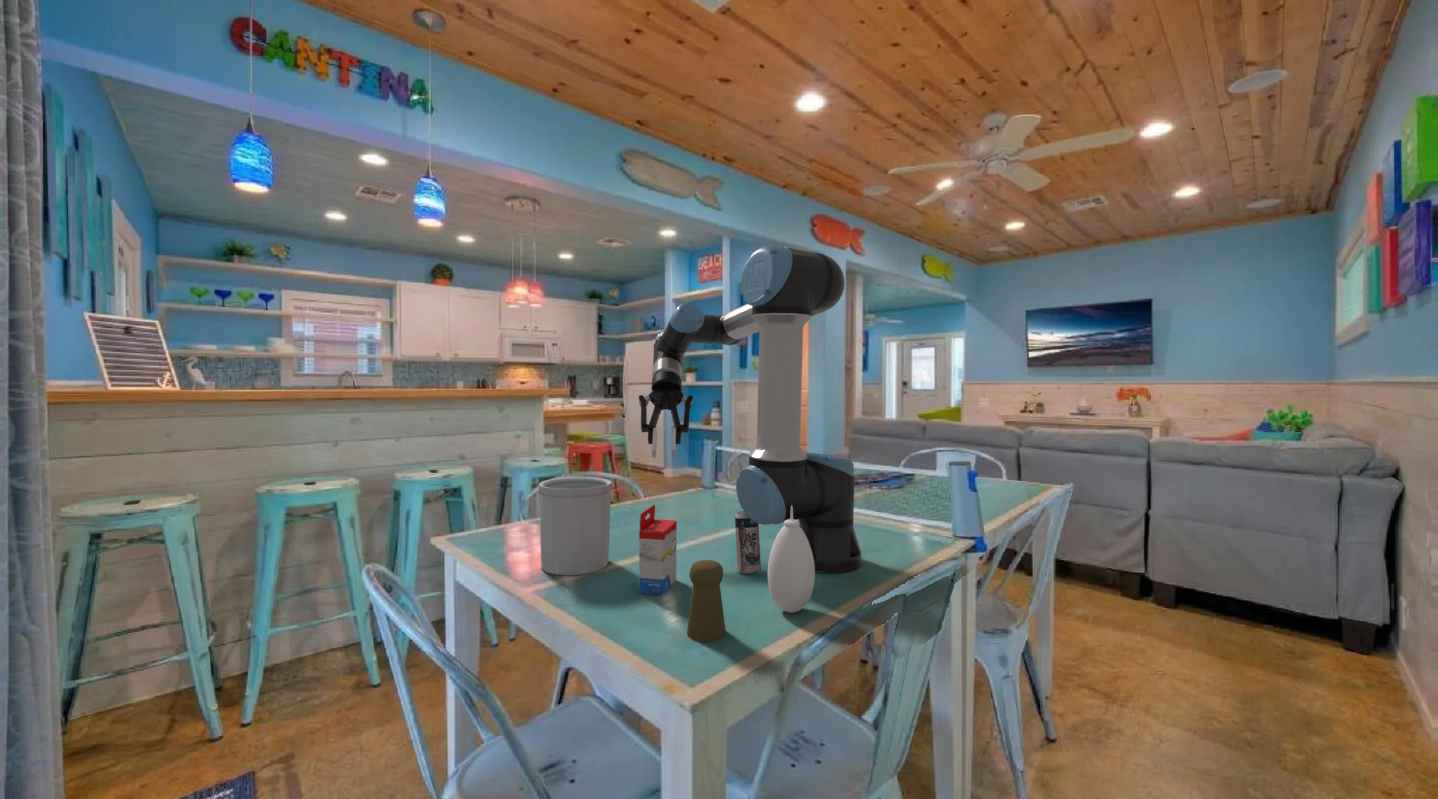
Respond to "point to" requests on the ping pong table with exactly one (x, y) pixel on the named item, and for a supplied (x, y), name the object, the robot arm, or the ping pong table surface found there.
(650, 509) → the ink box
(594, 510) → the utensil holder
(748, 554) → the beer can
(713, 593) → the cork
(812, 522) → the robot arm
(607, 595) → the ping pong table surface
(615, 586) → the ping pong table surface
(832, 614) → the ping pong table surface
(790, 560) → the air blower bulb
